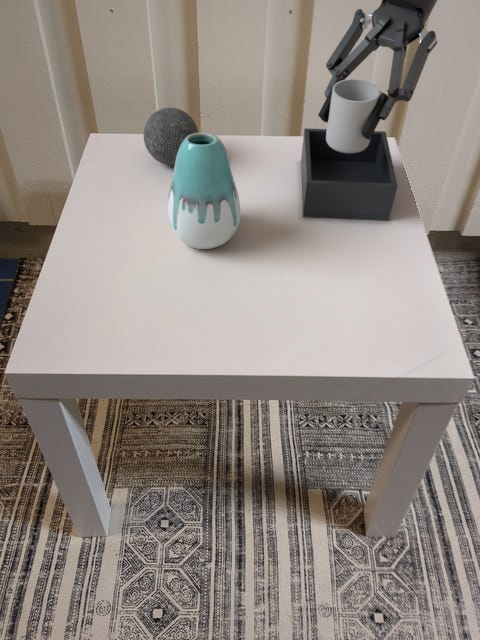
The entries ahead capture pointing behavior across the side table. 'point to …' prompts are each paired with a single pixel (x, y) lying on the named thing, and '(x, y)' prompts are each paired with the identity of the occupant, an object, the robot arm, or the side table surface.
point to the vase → (203, 193)
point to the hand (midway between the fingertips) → (343, 127)
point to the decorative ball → (167, 133)
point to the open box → (347, 179)
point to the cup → (350, 114)
